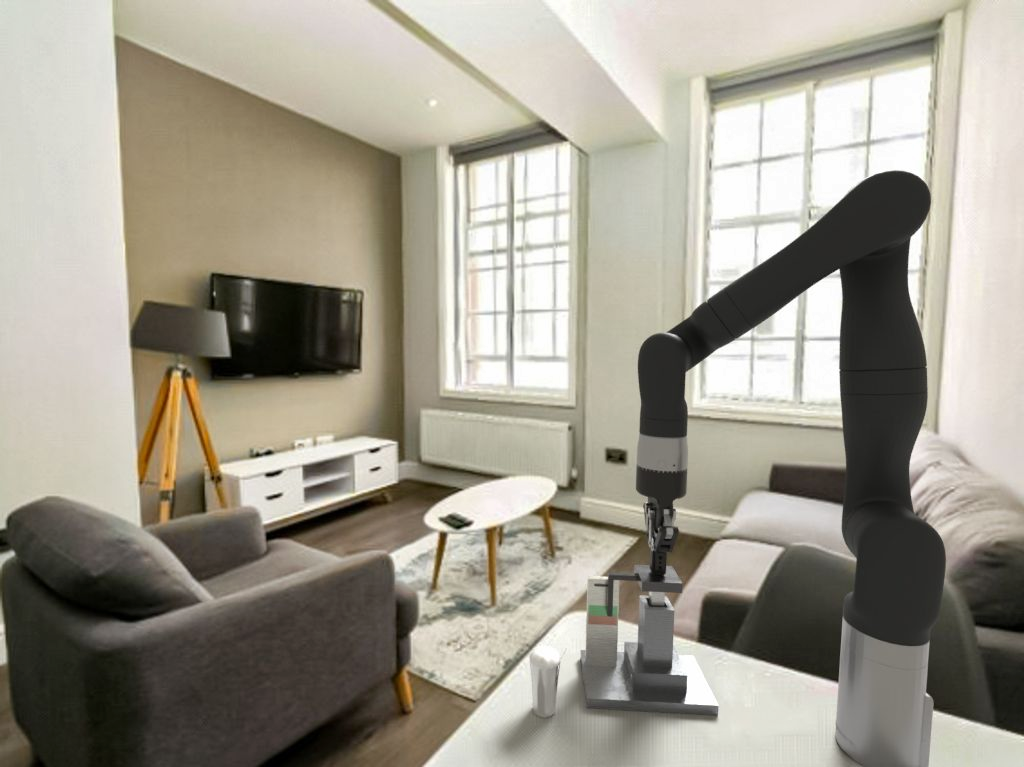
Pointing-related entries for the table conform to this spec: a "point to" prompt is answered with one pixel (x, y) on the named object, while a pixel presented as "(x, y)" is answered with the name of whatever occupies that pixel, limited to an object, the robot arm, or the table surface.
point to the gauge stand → (639, 661)
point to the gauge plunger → (646, 584)
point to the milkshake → (544, 679)
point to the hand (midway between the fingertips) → (657, 572)
